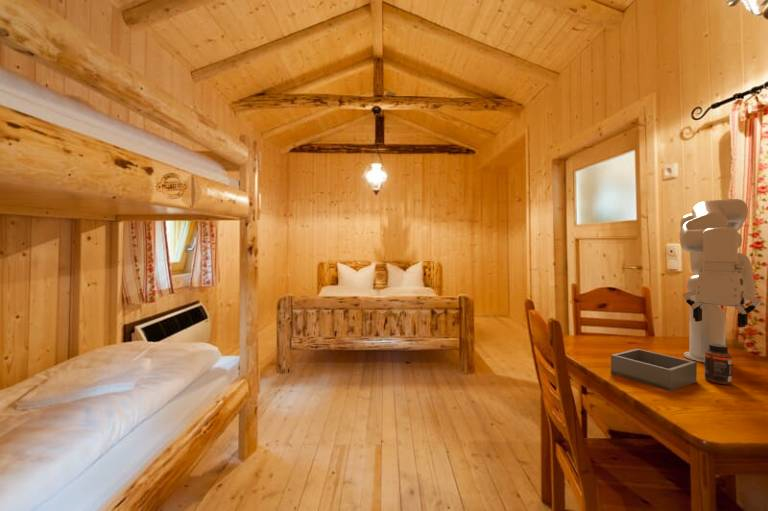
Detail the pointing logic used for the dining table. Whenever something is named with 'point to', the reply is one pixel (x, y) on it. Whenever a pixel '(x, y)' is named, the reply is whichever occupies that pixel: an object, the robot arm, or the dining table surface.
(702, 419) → the dining table surface
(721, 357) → the supplement bottle
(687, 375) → the bin
